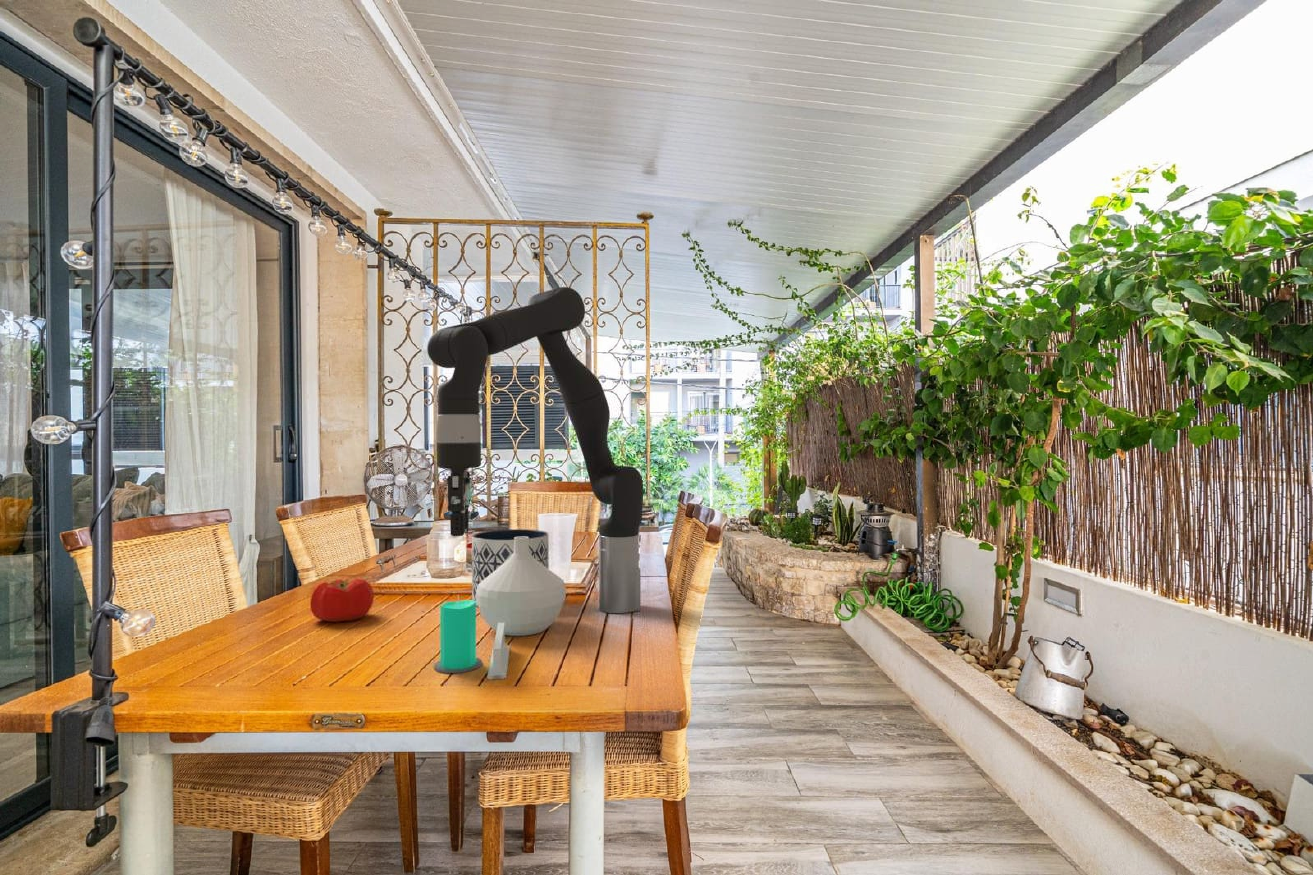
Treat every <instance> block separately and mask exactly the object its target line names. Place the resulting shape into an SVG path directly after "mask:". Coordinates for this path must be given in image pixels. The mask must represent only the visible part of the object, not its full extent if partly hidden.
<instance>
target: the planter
mask: <svg viewBox="0 0 1313 875" xmlns="http://www.w3.org/2000/svg"><path fill="white" fill-rule="evenodd" d="M520 536H526V537H529V552H530V554H531V555H532V556H533V557H534V558H535V559H536V560H537V561H539V562H540V563H541V564H543V565H544V566H545V567H546V568H548V569H549V565H550V564H549V558H550V556H549V554H550V553H549V533H548V532H547V531H543V530H538V529H537V530H535V529H497V530H489V531H486V530H485V531H481V532H476V533H474V534H473V535H472V537H471V538H472V539H471V573H472V574H471V585H472V586H471V590H472V591H471V592H472V593H471V600H473V601H475V602H476V590H477V587H478V585H479V583H480V582H481V581H483V580H484V579H485V578H486V577H488V576H489V575H490V574H491V573H493V572H494V571H495V570H496V569H498V568H499V567H500V566H501V565H502V564H503V563H504V562H506V561H507V560H508V559H509V558H510V557H511V555H512V554H513V553H514V537H520ZM549 570H550V569H549ZM476 607H478V606H477V602H476Z"/></svg>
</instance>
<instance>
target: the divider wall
mask: <svg viewBox="0 0 1313 875" xmlns="http://www.w3.org/2000/svg"><path fill="white" fill-rule="evenodd" d="M505 636H506V635H505V623H498V626H497V631H495V636H494V637H495V638H494V641H493V642H494V644H493V647H492V651H491V655H490V661H489V666H488V667H489V668H488V670H487V680H501V679H502V680H505V679H507V674H508V666H509V657H510V645H506V644H505V641H506V639H505ZM504 678H505V679H504Z"/></svg>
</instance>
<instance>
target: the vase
mask: <svg viewBox="0 0 1313 875" xmlns="http://www.w3.org/2000/svg"><path fill="white" fill-rule="evenodd" d="M566 598H567V586H566V584H565V581H564V579H563V578H561V577H560V576H558V575H557V574H556V573H555V572H553V571H552V570H551V569H548V568H546V567H545V566H544V565H543V564H541V563H540V562H539V561H537V560H536V559H535V558H534V557H533V556H532V555H531V554H530V552H529V537H526V536H520V537H514V553H513V554H512V555H511V557H510V558H509V559H508V560H507V561H506V562H504V563H503V564H502V565H501V566H500V567H499V568H498V569H496V570H495V571H494V572H493V573H491V574H490V575H489V576H488V577H486V578H485V579H484V580H483V581H481V582H480V583H479V585H478V587H477V590H476V602H477V606H476V607H477V608H478V610H479V613H480V615H481V618H482V620H483V621H485V623H486V624H487V625H488V626H489V627H490V628H491V629H493V630H494V631H495V632H496V631H497V626H498V623H505V636H511V637H521V636H522V637H525V636H531V635H535V634H539V633H541V632H544V631H545V630H547V629H548V628H549V627H550V626H551V625H553V624H554V622H555V621H556V619H557V618H558V616H560V614H561V612H562V609H563V606H564V603H565V600H566Z"/></svg>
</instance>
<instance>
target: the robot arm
mask: <svg viewBox="0 0 1313 875" xmlns="http://www.w3.org/2000/svg"><path fill="white" fill-rule="evenodd" d="M585 307H586V306H585V303H584V301H583V298H582V296H581V295H580V293H579V292H578V291H577V290H575V289H574V288H571V287H568V286H562V287H557V288H552V289H549V290H545V291H543V292H539V293H536V294H534V295H532V296H531V297H530V298H529V299H528V302H527V305H525V306H521V307H516V308H512V309H508V310H507V309H506V310H503V311H499V312H496V313H494V314H490V315H487V316H483V317H482V318H481V317H480V318H479V319H477V320H475V321H471V322H466V323H460V324H456V325H451V326H447V327H443V328H440V329H438V330H437V331H435V332H434V333H432V334H431V336H430V338H429V339H428V341H427V346H426V349H427V350H426V351H427V355H428V357H429V359H430V360H431V361H432V362H433V363H434V364H435V365H436V366H438V367H440V368H444V369H453V373H452V376H451V378H450V379H448V380H445V381H443V382H441V383H440V384H439V386H438V387H437V421H436V428H435V429H436V433H435V434H436V466H437V467H438V469H439V468H440V469H449V470H450V475H447V478H446V489H447V493H446V500H447V501H446V502H447V506H446V508H447V511H448V512H449V516H450V518H449V519H450V521H449V522H450V536H451V537H463V536H464V534H465V530H468V528H469V508H470V506H471V498H472V486H473V485H472V483H473V482H472V481H473V480H472V477H471V473H470V471H468V469H471V468H473V469H474V468H479V467H481V465H482V443H481V442H482V441H481V438H482V437H481V436H482V435H481V434H482V433H481V431H482V430H481V422H480V421H481V420H480V402H479V401H480V396H479V394H480V389H481V386H482V381H483V379H484V378H483V377H484V373H485V369H486V365H487V361H488V356H492V355H497V354H499V353H501V352H504V351H506V350H509V349H511V348H513V347H516V346H518V345H521V344H523V343H525V342H527V341H529V340H532V339H534V338H537V340H538V343H539V346H541V349H542V352H543V353H544V355H545V357H546V360H547V361H548V363H549V366H550V369H551V371H552V373H553V376H554V379H555V381H556V383H557V387H558V388H559V391H560V394H561V398H562V401H563V404H564V407H565V409H566V412H567V415H568V418H569V419H570V422H571V424H572V427H573V429H574V432H575V436H576V439H577V442H578V445H579V447H580V449H581V454H582V457H583V459H584V463H585V467H586V472H587V475H588V479H589V482H590V486H591V491H592V492H593V495H594V497H595V498H596V499H597V500H598V501H599V503H603V504H604V505H611V512H610V515H609V516H608V518H607V519H605V520H602V521H601V522H600V523H599V525H598V534H599V535H598V548H599V549H598V566H599V567H598V572H599V574H598V580H599V581H598V593H599V594H598V597H599V599H598V605H599V606H598V607H599V610H600V611H601V612H604V613H608V614H627V613H633V612H638V611H641V610H642V609H641V604H642V603H641V602H642V601H641V600H642V599H641V598H642V597H641V596H642V595H641V594H642V593H641V582H642V581H641V580H642V579H641V568H640V559H639V558H640V553H639V552H640V548H639V546H640V543H639V541H640V539H639V538H640V535H639V534H640V531H639V530H640V527H641V523H642V519H643V507H644V506H643V505H644V482H643V477H642V475H641V473H640V471H639V470H638V469H637V468H636V467H634V466H631V465H630V466H629V465H616V464H615V461H614V459H613V456H612V454H611V451H610V448H609V444H608V435H609V434H608V432H609V426H610V419H611V418H610V417H611V414H610V413H611V412H610V411H611V410H610V406H609V403H608V399H607V396H606V395H605V391H604V388H603V386H602V383H601V381H600V380H599V379H598V377H597V376H596V374H594V373H593V372H592V371H591V370H590V369H589V368H588V367H587V366H586V365H585V364H584V363H583V362H581V360H579V359H578V357H576V355H575V354H574V353H573V351H572V350H571V349H570V347H569V345H568V343H567V341H566V337H565V336H564V334H563V333H564V332H569V331H571V330H574V329H576V328H578V327H579V326H581V324H582V323H583V322H584V319H585V315H586V308H585Z"/></svg>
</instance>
